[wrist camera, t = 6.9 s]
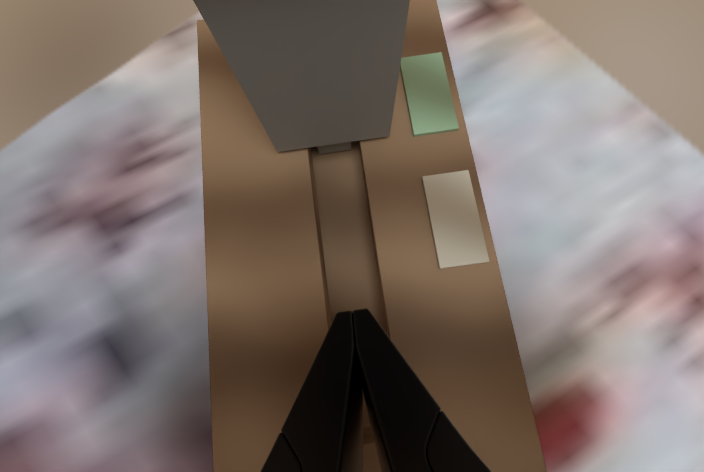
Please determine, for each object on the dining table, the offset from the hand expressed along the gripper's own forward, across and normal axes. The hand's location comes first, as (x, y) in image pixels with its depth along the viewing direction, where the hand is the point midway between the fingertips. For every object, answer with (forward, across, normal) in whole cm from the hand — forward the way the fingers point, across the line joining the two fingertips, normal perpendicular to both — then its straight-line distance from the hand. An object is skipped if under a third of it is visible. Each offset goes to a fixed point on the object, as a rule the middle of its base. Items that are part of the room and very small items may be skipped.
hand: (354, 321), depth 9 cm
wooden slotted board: (+8, 0, +2) cm, 8 cm away
